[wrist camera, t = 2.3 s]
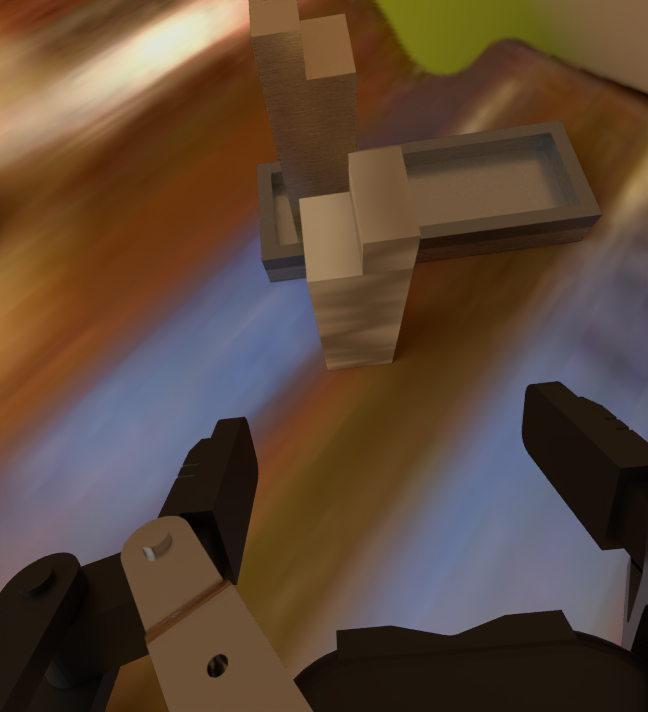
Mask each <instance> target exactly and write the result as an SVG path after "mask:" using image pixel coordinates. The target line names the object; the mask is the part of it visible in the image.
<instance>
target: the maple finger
mask: <svg viewBox="0 0 648 712" xmlns="http://www.w3.org/2000/svg"><path fill="white" fill-rule="evenodd" d="M348 161H349V192H344V193H337V194H330V195H323V196H316V197H309V198H302V199H299V203H300V214H301V224H302V234H303V244H304V254H305V264H306V275H307V283H308V288H309V292H310V296H311V300H312V305H313V309H314V313H315V317H316V322H317V326H318V330H319V335H320V339H321V343H322V347H323V352H324V356H325V360H326V364H327V369H328V371H329V370H337V369H346V368H354V367H362V366H370V365H378V364H386V363H392V361H393V356H394V352H395V348H396V343H397V339H398V334H399V330H400V326H401V321H402V317H403V312H404V308H405V304H406V299H407V295H408V290H409V286H410V282H411V277H412V273H413V269H414V264H415V260H416V255H417V251H418V247H419V242H420V238H421V234H420V229H419V225H418V221H417V216H416V212H415V207H414V203H413V199H412V194H411V190H410V186H409V181H408V177H407V173H406V168H405V164H404V160H403V155H402V151H401V147H400V146H395V147H388V148H381V149H374V150H367V151H360V152H354V153H348Z"/></svg>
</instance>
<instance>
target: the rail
mask: <svg viewBox="0 0 648 712" xmlns="http://www.w3.org/2000/svg"><path fill="white" fill-rule="evenodd" d="M249 15H250V34H251V41H252V45H253V49H254V54H255V58H256V62H257V67H258V71H259V75H260V80H261V84H262V88H263V92H264V97H265V101H266V105H267V110H268V114H269V118H270V123H271V127H272V131H273V136H274V140H275V144H276V148H277V153H278V157H279V161H278V162H271V163H265V164H258V165H257V177H258V197H259V216H260V236H261V255H262V262H263V265H264V267H265V270H266V272H267V275H268V277H269V280H270V282H275V281H283V280H290V279H298V278H305V277H307V275H306V264H305V254H304V244H303V234H302V224H301V214H300V203H299V199H302V198H309V197H316V196H323V195H330V194H337V193H344V192H349V161H348V153H354V152H360V151H367V150H374V149H381V148H388V147H395V146H400V147H401V151H402V155H403V160H404V164H405V168H406V173H407V177H408V181H409V186H410V190H411V194H412V199H413V203H414V207H415V212H416V216H417V221H418V225H419V229H420V234H421V238H420V242H419V247H418V251H417V255H416V260H415V263H418V262H426V261H433V260H441V259H448V258H456V257H463V256H471V255H478V254H486V253H493V252H501V251H508V250H516V249H523V248H531V247H538V246H546V245H553V244H561V243H568V242H576V241H581V239H582V238H583V237H584V236H585V235H586V233H587V232H588V231H589V230H590V229H591V227H592V226H593V225H594V224H595V223H596V221H597V220H598V219H599V218H600V217H601V215H602V213H601V210H600V208H599V206H598V204H597V201H596V199H595V197H594V194H593V192H592V190H591V188H590V185H589V183H588V181H587V179H586V176H585V174H584V172H583V170H582V167H581V165H580V163H579V160H578V158H577V156H576V154H575V151H574V149H573V147H572V145H571V142H570V140H569V138H568V136H567V133H566V131H565V129H564V127H563V124H562V122H561V120H559V121H552V122H545V123H539V124H532V125H525V126H518V127H511V128H504V129H497V130H491V131H484V132H477V133H470V134H463V135H456V136H450V137H443V138H436V139H429V140H422V141H415V142H408V143H402V144H395V145H388V146H381V147H374V148H367V149H360V150H357V135H356V70H355V65H354V59H353V54H352V49H351V44H350V39H349V33H348V28H347V23H346V18H345V14H339V15H333V16H327V17H321V18H314V19H308V20H302V21H299V15H298V7H297V0H249Z"/></svg>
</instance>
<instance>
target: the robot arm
mask: <svg viewBox="0 0 648 712" xmlns="http://www.w3.org/2000/svg"><path fill="white" fill-rule="evenodd" d="M522 439H523V443H524V446H525V448H526V450H527V452H528V454H529V455H530V456H531V458H532V459H533V460H534V462H535V463H536V464H537V466H538V467H539V468H540V470H541V471H542V472H543V474H544V475H545V476H546V477H547V479H548V480H549V481H550V483H551V484H552V485H553V487H554V488H555V489H556V491H557V492H558V493H559V495H560V496H561V497H562V499H563V500H564V501H565V502H566V504H567V505H568V506H569V508H570V509H571V510H572V512H573V513H574V514H575V516H576V517H577V518H578V520H579V521H580V522H581V524H582V525H583V526H584V527H585V529H586V530H587V531H588V533H589V534H590V535H591V537H592V538H593V539H594V541H595V542H596V543H597V545H598V546H599V547H600V549H601V550H612V549H622V548H624V549H625V550H626V551H627V552H628V554H629V555H630V557H629V561H628V565H627V575H626V589H625V604H624V618H623V632H622V641H621V647H620V646H618V645H616V644H614V643H612V642H610V641H607V640H604V639H602V638H599V637H597V636H594V635H590V634H586V633H583V632H579V631H574V630H572V628H571V626H570V624H569V622H568V621H567V619H566V617H565V615H564V613H563V612H562V610H555V611H544V612H533V613H522V614H511V615H504V616H502V617H499V618H497V619H494V620H492V621H489V622H487V623H484V624H482V625H479V626H477V627H474V628H472V629H469V630H467V631H465V632H462V633H460V634H457V635H452V636H448V635H441V634H436V633H430V632H424V631H419V630H413V629H407V628H402V627H396V626H380V627H370V628H359V629H348V630H337V631H336V633H337V650H336V651H333V652H331V653H329V654H326V655H325V656H323V657H321V658H319V659H318V660H316V661H314V662H313V663H312V664H310V665H309V666H308V667H306V668H305V669H304V670H303V671H302V672H300V673H299V674H298V675H297V676H296V677H295V678H294V679H292V677H291V676H290V674H289V673H288V671H287V670H286V668H285V666H284V665H283V663H282V662H281V660H280V659H279V657H278V655H277V654H276V652H275V651H274V649H273V647H272V646H271V644H270V643H269V641H268V640H267V638H266V636H265V635H264V633H263V632H262V630H261V629H260V627H259V625H258V624H257V622H256V621H255V619H254V618H253V616H252V614H251V613H250V611H249V610H248V608H247V606H246V605H245V603H244V602H243V600H242V599H241V597H240V595H239V594H238V592H237V591H236V589H235V588H234V586H233V585H237V581H238V576H239V571H240V566H241V561H242V557H243V552H244V547H245V542H246V537H247V532H248V527H249V522H250V517H251V512H252V507H253V502H254V497H255V492H256V487H257V482H258V463H257V458H256V454H255V450H254V445H253V441H252V437H251V433H250V429H249V425H248V422H247V419H246V418H245V417H238V418H229V419H221V420H218V422H217V424H216V426H215V429H214V431H213V434H212V436H211V438H206V439H201V440H200V441H199V442H198V443H197V444H196V445H195V446H194V447H193V448H192V449H191V450H190V451H189V453H188V455H187V457H186V459H185V461H184V463H183V467H181V469H180V472H179V474H178V478H177V479H176V480H175V482H174V484H173V486H172V488H171V491H170V493H169V495H168V497H167V499H166V501H165V503H164V505H163V507H162V509H161V512H160V514H159V516H158V518H157V519H155V520H152V521H150V522H148V523H146V524H145V525H143V526H142V527H140V528H139V529H138V530H136V531H135V532H134V533H133V534H132V535H131V536H130V537H129V539H128V540H127V541H126V543H125V545H124V547H123V549H122V552H120V553H117V554H115V555H112V556H109V557H107V558H104V559H101V560H98V561H96V562H93V563H90V564H87V565H85V566H82V567H81V565H80V563H79V561H78V560H77V558H76V557H75V556H74V555H73V554H70V553H55V554H51V555H48V556H45V557H43V558H41V559H39V560H37V561H35V562H33V563H31V564H30V565H28V566H27V567H25V568H24V569H22V570H21V571H20V572H19V573H17V574H16V575H15V576H14V577H13V578H12V579H11V580H10V581H9V582H8V583H7V584H6V586H5V587H4V588H3V590H2V591H1V592H0V712H104V711H105V709H106V706H107V703H108V700H109V697H110V695H111V692H112V689H113V686H114V683H115V680H116V678H117V675H118V672H119V669H120V666H123V665H125V664H127V663H130V662H132V661H134V660H136V659H139V658H141V657H143V656H146V655H148V654H150V657H151V660H152V663H153V666H154V668H155V671H156V674H157V677H158V680H159V683H160V686H161V689H162V692H163V695H164V698H165V701H166V704H167V707H168V710H169V712H648V442H647V441H645V440H644V439H643V438H642V437H640V436H639V435H638V434H637V433H635V432H634V431H633V430H629V427H628V426H627V425H626V424H624V423H623V422H622V421H621V420H617V417H616V416H614V415H613V414H612V413H611V412H609V411H608V410H607V409H606V408H604V407H603V406H602V405H600V404H597V403H595V402H593V401H591V400H588V399H586V398H584V397H577V396H576V395H575V394H574V393H573V392H572V391H570V390H569V389H568V388H567V387H566V386H564V385H563V384H562V383H561V382H558V381H556V382H547V383H538V384H530V385H528V386H527V388H526V392H525V401H524V412H523V423H522Z"/></svg>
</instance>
